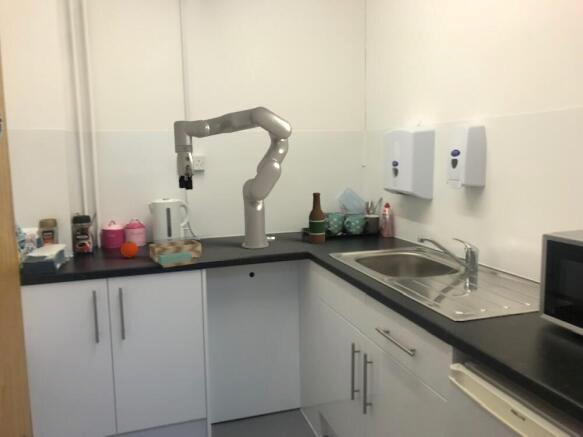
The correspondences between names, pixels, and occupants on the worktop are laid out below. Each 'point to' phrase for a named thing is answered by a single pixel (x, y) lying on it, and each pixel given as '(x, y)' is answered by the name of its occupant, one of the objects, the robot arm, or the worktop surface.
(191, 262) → the cork trivet
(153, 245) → the woven basket
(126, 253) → the clementine
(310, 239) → the beer bottle
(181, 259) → the teal block
